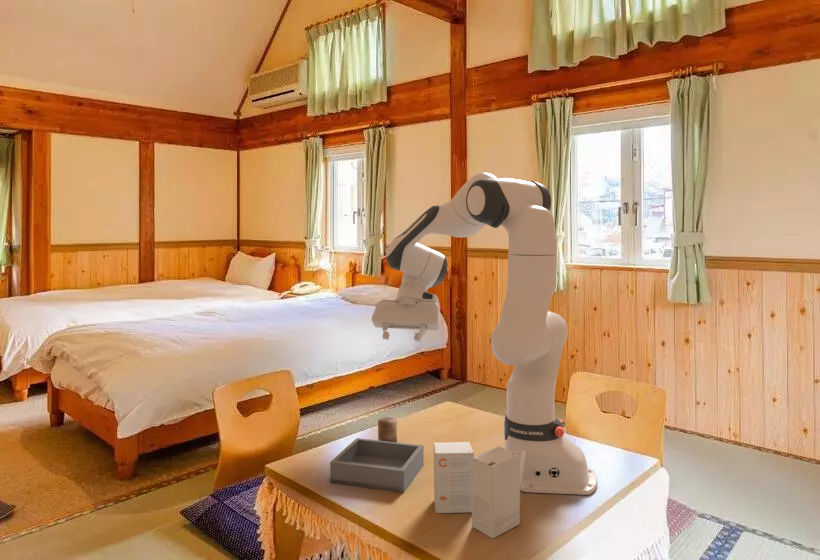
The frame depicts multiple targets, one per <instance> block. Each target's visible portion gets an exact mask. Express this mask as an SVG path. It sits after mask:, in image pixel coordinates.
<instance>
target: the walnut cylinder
mask: <svg viewBox="0 0 820 560" xmlns="http://www.w3.org/2000/svg"><path fill="white" fill-rule="evenodd" d="M397 424H398V419H397V418H394V417H391V416H390V417H387V416H385V417H382V418H381V417H380V418H379V419H378V420H377V434H378V435H377V439H378V440H379V441H388V442H397V443H398V425H397Z"/></svg>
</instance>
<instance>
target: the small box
mask: <svg viewBox="0 0 820 560" xmlns="http://www.w3.org/2000/svg"><path fill="white" fill-rule="evenodd" d="M474 454H475V453H474V450H473V448H472V445H471V441H460V442H459V441H455V442H454V441H453V442H452V441H451V442H450V441H448V442H446V441H445V442H433V500H434V509H435V514H453V513H454V514H458V513H462V514H463V513H466V514H467V513H472V457H474V456H475V455H474Z"/></svg>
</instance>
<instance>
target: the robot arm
mask: <svg viewBox="0 0 820 560" xmlns="http://www.w3.org/2000/svg"><path fill="white" fill-rule="evenodd" d="M551 208H552V197H551V193H550V191H549V189H548V187H546V186H545V185H543V184H542V183H539V182H537V181H534V180H527V181H526V180H522V179H515V178H512V177H511V178H510V177H500V178H498V177H497V176H496V175H494V174H492V173H489V172H485V171H483V172H477V173H475V174H473V176H471V178H469V179H468V180H467V181H466V182H465V183H464V184H463V185H462V186H461V187H460V188H459V190H458V191H457V192H456V194H455V195H454V196H453V197H452V198H451V199H450V200H449V201H446V202H445V203H443V204H439V205H432V206H430V207H429V208H427V210H426V211H424V212H423V213H422V214H421V215H420V216H419V217H417V219H416V220H415V221H414V222H413V223H411V224H410V226H408V227H407V228H406V229H405V230H404V231H403V232H402V233H400V234H399V235H398V236H396V237H395V238H394V239H393V240H392V241H391V242H390V243H389V245H388V247H387V249H386V252H385V260H386V262H387V264H388V266H389V267H390V269H393V270H395V271H401V272H403V274H402V277H401V284H400V285H399V287H398V291H397V294H396V298H395V299H382V300H381V301H378V302H377V303H376V306H375V309H374V310H373V311H374V312H373V314H372V315H371V322H372V324H373V326H374V327H375V328H379V329H382V331H383V333H382V337H381V338H382V340H387V341H388V340H390V339H389V338H390V333H389V331H388V329H398V330H401V329H402V330H416V331H417V330H419V331H418V333H417V332H415V333H414V336H413V337H414V338H413V339H414V341H415V342H421V339H422V337H423V336H425V334H426V333H427V331H438V330H439V329H440V328H441V323H442V322H441V321H442V319H441V317H442V315H441V304H440V301H439V297H438V295H436V294H435V293H431V292H428V290H429V288H430V289H432V288H434V287H436V286H437V285H438V286H439V285H440V284H441V283H442V282H443V281H444V280H445V277H446V275H447V274H446V273H447V270H448V267H449V265H448V259H447V257H446V256H445V254H442V253H441V252H439V251H437V250H435V249H433V248H430V247H428V246H426V245H424V244H421V243H419V242H420V241H421V240H423V238H424V237H425V236H427V235H430V234H431V235H432V234H435V235H436V234H437V235H444V236H450V237H454V238H461V239H462V238H470V237H473V236H474V235H476V234H477V233H479V232H480V231H481V230H482V229H483V228H484V227H485V226H486V225H487V226H490V227H491V228H494V229H498V228H500V226H502V227H503V229H505V230H506V232H507V234H508V250H507V251H508V253H507V254H508V255H507V257H508V258H507V259H508V261H507V287H506V292H505V299H504V302H503V305H502V306H503V307H502V310H501V314H500V318H499V320H498V323H497V325H496V327H495V329H493V332H492V334H491V337H490V348H491V351H492V354H494V357H495V358H497V359H496V360H498V361H500V363H502V364H504V365H507V366H513V369H512V373H511V375H510V377H509V379H508V381H507V384H506V414H505V417H504V421H503V423H504V424H503V436H504V440H505V442H504V443H505V444H504V449H507V450H509V451H512V452H514V453H516V454H519V455H520V492H523V493H536V494H537V493H538V494H540V493H541V494H561V495H583V496H584V495H591V494H592V493H594V492H595V491H596V489H597V488H598V477H597V474H596V472H595V471H594V470H593V468H591V467H589V466H588V462H587V459H586V456H585V453H584V451H583V450H582V449H581V448H580V447H579V445H577V444H575V443H574V442H573V441H571V440H570V439H569V438H567V436H565V428H564V424H563V420H562V419H561V418H560V419H558V418H556V417H555V399H556V397H555V394H556V385H557V384H556V383H557V376H558V373H559V367H560V364H561V358H562V354H563V349H564V346H565V344H566V342H567V340H568V337H569V327H568V324H567V322H566V319H564V318H563V317H562V316H561V314H558V313H555V312H553V311H550V310H549V309H550V304H551V301H552V298H553V296H554V294H555V293H556V290H557V273H558V270H557V269H558V268H557V267H558V263H557V262H558V241H557V238H558V237H557V231H556V229H557V228H556V224H555V219H554V215H553V213H552V211H551Z"/></svg>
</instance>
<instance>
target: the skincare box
mask: <svg viewBox="0 0 820 560" xmlns="http://www.w3.org/2000/svg"><path fill="white" fill-rule="evenodd" d="M520 509H521V490H520V455H519V454H516V453H514V452H512V451H509V450H507V449H505V447H502V446H496V447H494V448H492V449H489V450H487V451H485V452H482V453H480V454H477V455H474V457H472V512H471V526H472V528H474V529H476V530H478V532H481V533H482V534H484V535H485V536H487V537H489V538H491V539H495V538H497V537H498V536H500V535H502V534H504V533H506V532H507V531H509V530H511V529H513V528H515V527H516V526H519V525H520V524H521V521H520V520H521V519H520V518H521V517H520V516H521V515H520V513H521V510H520Z"/></svg>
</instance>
